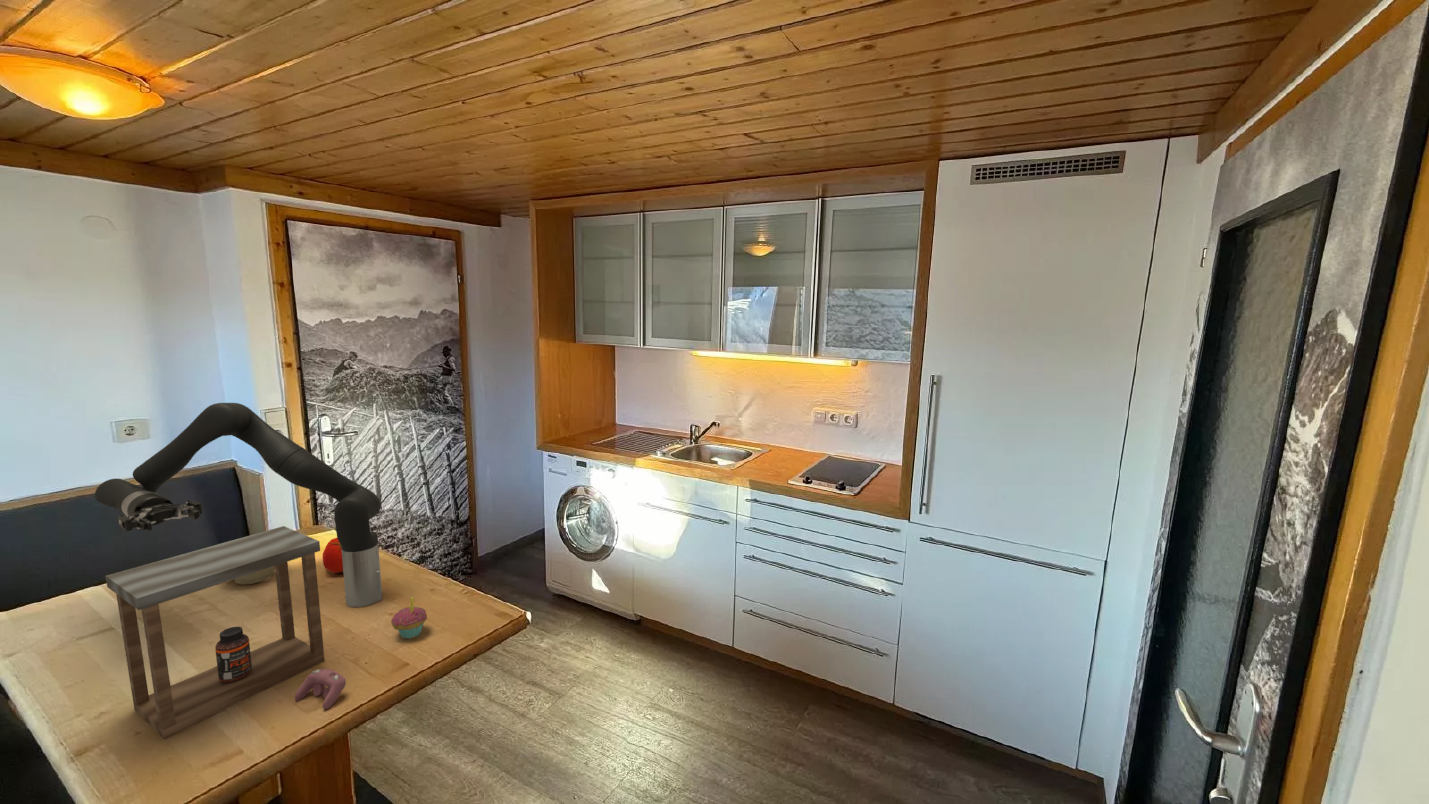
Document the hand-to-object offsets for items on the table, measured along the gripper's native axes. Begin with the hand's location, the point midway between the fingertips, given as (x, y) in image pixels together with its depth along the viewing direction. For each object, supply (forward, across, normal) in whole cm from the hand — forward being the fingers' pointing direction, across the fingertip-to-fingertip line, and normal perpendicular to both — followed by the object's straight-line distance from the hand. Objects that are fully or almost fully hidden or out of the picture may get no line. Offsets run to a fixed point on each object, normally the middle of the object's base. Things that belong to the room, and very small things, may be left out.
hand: (173, 520), depth 136 cm
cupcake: (+38, +33, +35) cm, 62 cm away
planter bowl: (-32, +27, +35) cm, 54 cm away
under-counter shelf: (+24, 0, +35) cm, 42 cm away
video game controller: (+45, +8, +35) cm, 58 cm away
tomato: (-14, +45, +35) cm, 59 cm away
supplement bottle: (+23, 0, +33) cm, 41 cm away
